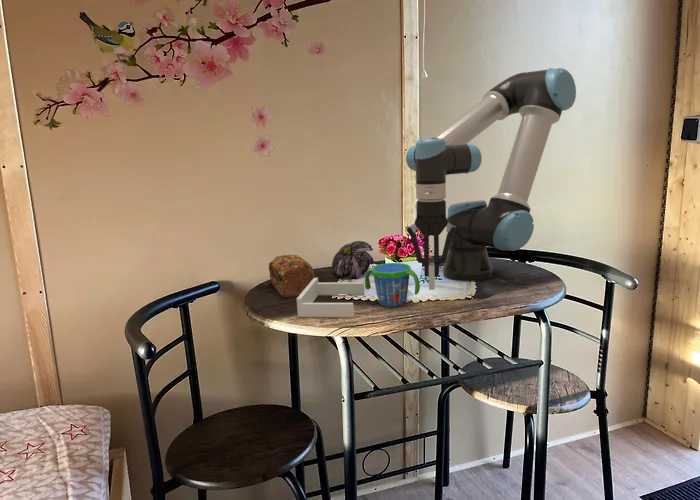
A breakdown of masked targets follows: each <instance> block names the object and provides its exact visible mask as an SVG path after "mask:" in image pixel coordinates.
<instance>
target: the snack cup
mask: <svg viewBox="0 0 700 500" xmlns="http://www.w3.org/2000/svg"><path fill="white" fill-rule="evenodd" d="M365 273H366V274H365V277H364V288H365V289H366V290H371V287H372V285H371V282H370V275H371V274H372V277H373V281H374V285H375V290H376V296H377V300H378V302H379V304H380V305H381V307H387V308H389V307H390V308H391V307H392V308H395V307H401V306H403V305H406V303H407V300H408V292H409V284H410V283H409V282H410V276H411V277H412V278H413V280H414V284H415V285H414V295H418V294H419V292H420V288H421V285H420V280H419V277H418V275H417V273H416V272H415V271H414V270H413V269H412V268H411V266H410V265H409V264H407V263H401V262H388V263H381V264H377V265H374V266H372V268H369V269H368V270H367V272H365Z"/></svg>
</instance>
